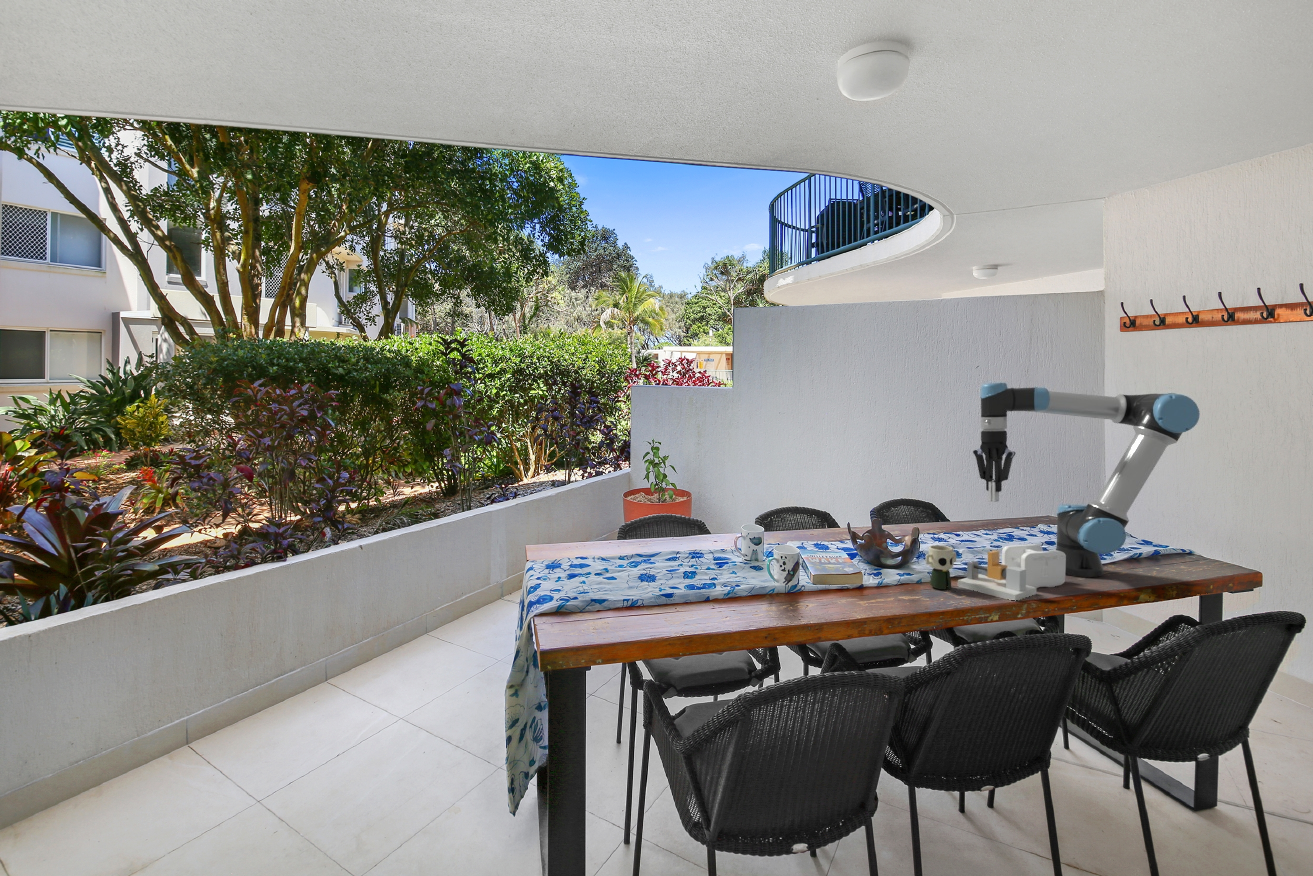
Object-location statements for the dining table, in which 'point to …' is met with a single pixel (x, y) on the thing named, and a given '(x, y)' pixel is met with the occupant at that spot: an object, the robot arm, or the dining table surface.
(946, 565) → the character mug
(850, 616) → the dining table surface
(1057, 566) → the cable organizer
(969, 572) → the slider rail fixture
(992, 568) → the sleeve
